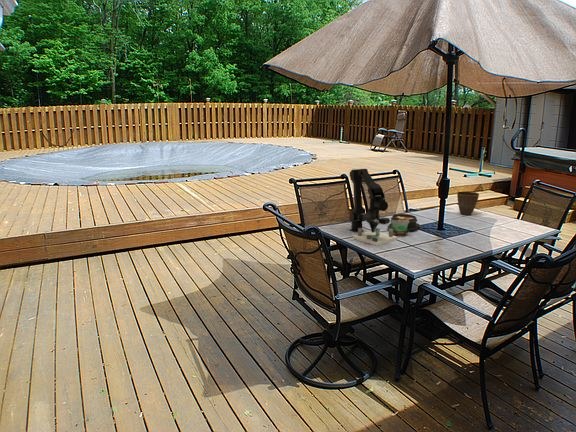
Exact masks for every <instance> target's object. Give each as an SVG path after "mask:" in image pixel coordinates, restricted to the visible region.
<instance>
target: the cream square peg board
mask: <svg viewBox="0 0 576 432" xmlns="http://www.w3.org/2000/svg"><path fill="white" fill-rule="evenodd" d="M362 229H363V227H362V228H358V232H357V234H354V235H353V237H352V239H354V240H356V239H357V241H360V242H363V243H367V244H369V243H370V244H371V245H373V246H377V247H378V246H382V245H384V244H388V243H391V242H394V241H397V240H398V236H394V235H393V229H389V228H388V233H386V232H385V233H384V232H382V231H380V236H378V237H377V238H371V239H368V238H367V235H371V236H372V235H376V229H375V231H374V232H373V233H372V231H371V230H368V231H365V232H363V231H362Z"/></svg>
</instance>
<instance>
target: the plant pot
mask: <svg viewBox="0 0 576 432" xmlns="http://www.w3.org/2000/svg"><path fill="white" fill-rule="evenodd" d="M456 193H457V194H456V195H457V197H456V198H457V205H458V206H457V207H458V211H459V213H460V215H462V216H468V217H469V216H472V214H473V213H474V210H475V208H476V206H477V204H478V200H479V196H480V194H479V192H473V191H458V192H456Z"/></svg>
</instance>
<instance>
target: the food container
mask: <svg viewBox="0 0 576 432" xmlns="http://www.w3.org/2000/svg"><path fill="white" fill-rule="evenodd" d="M390 223H391V229H393V236H397V237H406V236H407V232H408V231H407V227H408V223H409V219H408V218H407V219H406V220H401V219H399V220H392V219H391V218H390ZM390 223H389V224H390Z"/></svg>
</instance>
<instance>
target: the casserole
mask: <svg viewBox="0 0 576 432" xmlns="http://www.w3.org/2000/svg"><path fill="white" fill-rule="evenodd" d="M407 218H408V219H409V223H408V227H407V232H408V231H413V230H416V229H419V227H420V226H421V224H420V223H417V222H418V219H417V216H415V215H413V214H408V213H397V214H392V216H391V218H390V220H391V219H392V220H399V219H401V220H406V219H407ZM387 229H388V230H389V229H391V223H388V225H387Z"/></svg>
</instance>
